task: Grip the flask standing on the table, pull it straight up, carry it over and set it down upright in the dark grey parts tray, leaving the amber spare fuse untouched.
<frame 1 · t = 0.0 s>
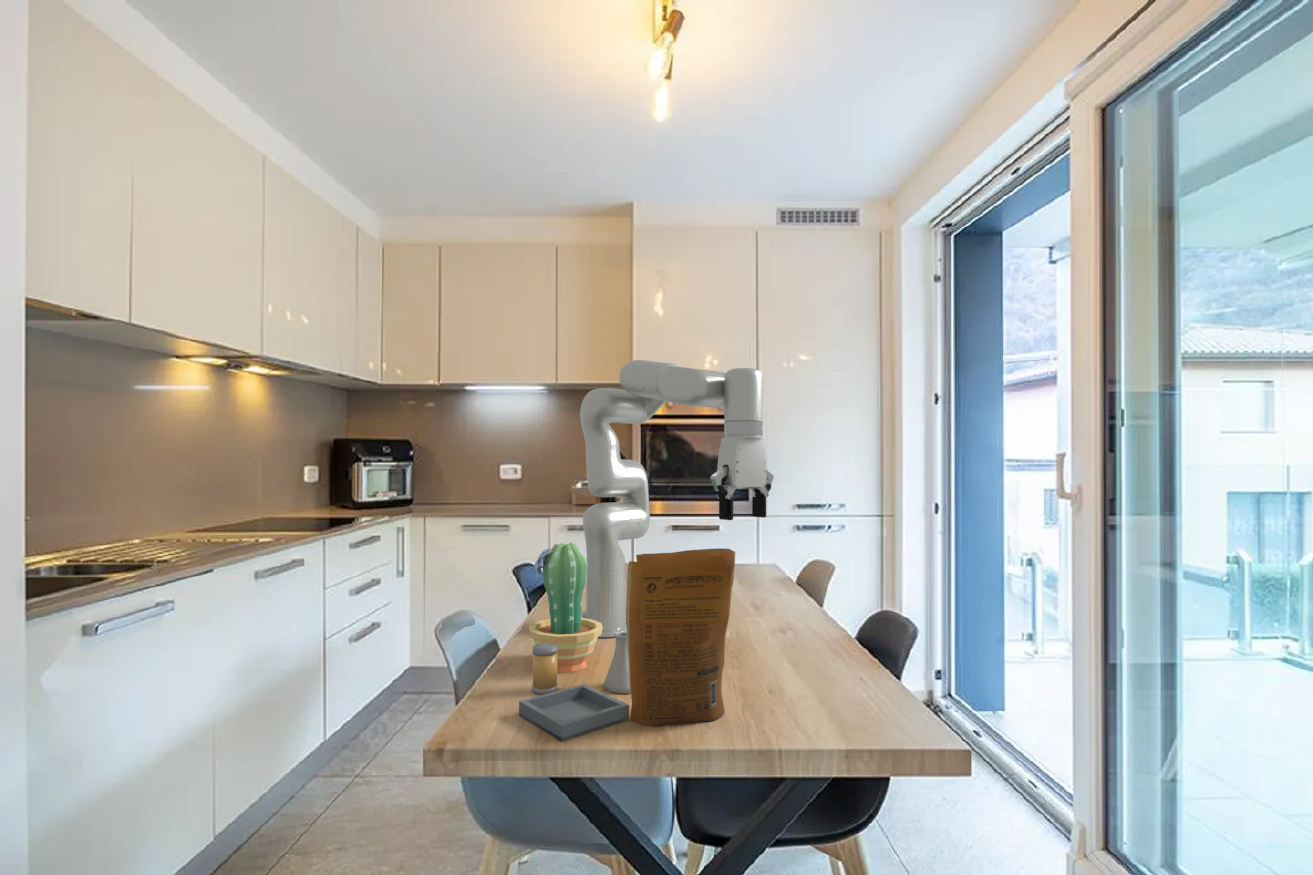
hand: (743, 518, 129), 31 cm above the table, tool pointing down, fingers open, 9 cm apart
spare fuse: (544, 690, 121), on the table
flask: (622, 688, 122), on the table
pancake mix bag: (679, 721, 107), on the table
tray: (573, 717, 108), on the table
potted cactus: (565, 666, 135), on the table
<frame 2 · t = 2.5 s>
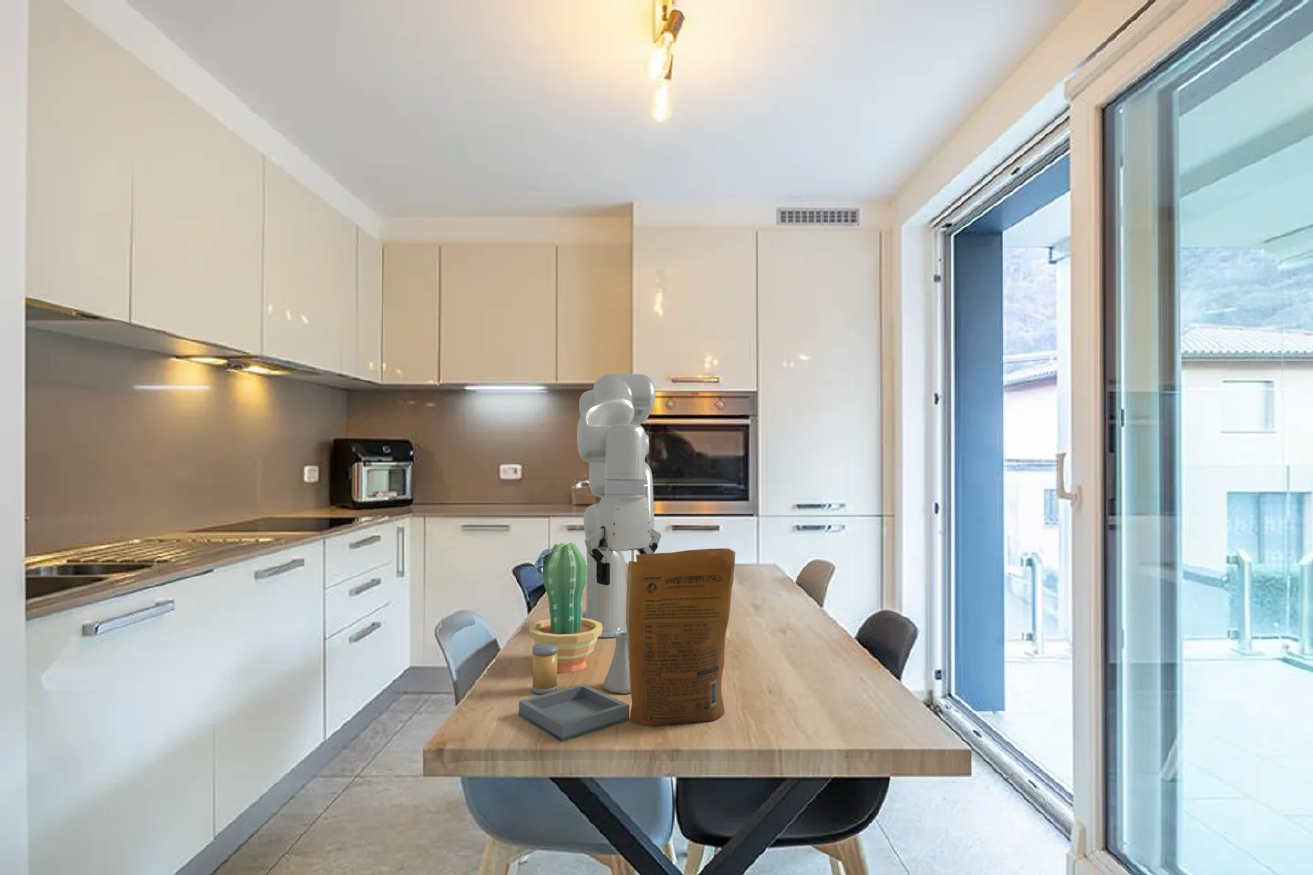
hand: (624, 581, 123), 20 cm above the table, tool pointing down, fingers open, 9 cm apart
nothing on the table moved.
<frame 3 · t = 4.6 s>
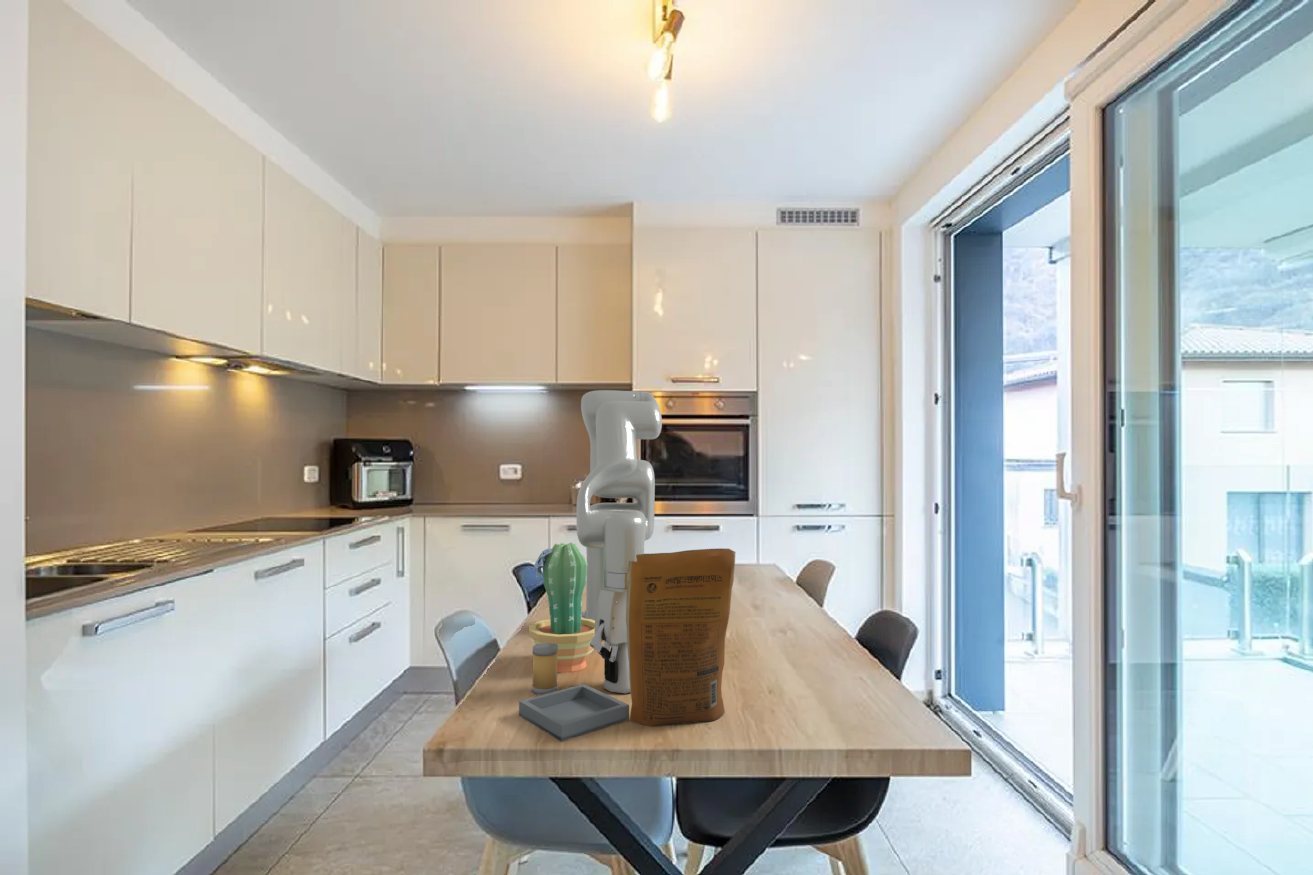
hand: (623, 676, 122), 2 cm above the table, tool pointing down, fingers closed on flask, 4 cm apart
flask: (622, 688, 122), on the table, touching gripper
everything else where it was.
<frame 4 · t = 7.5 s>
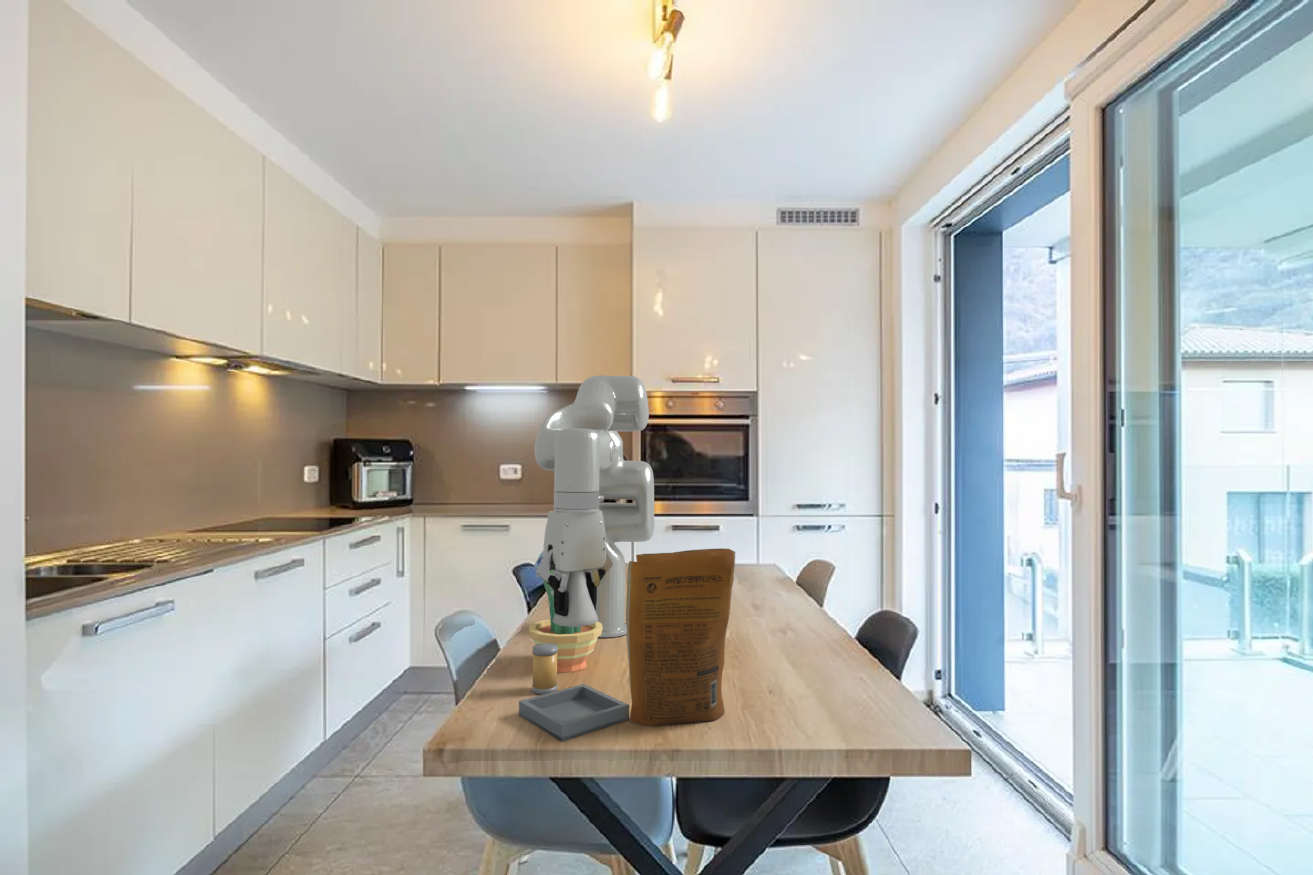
hand: (575, 611, 109), 17 cm above the table, tool pointing down, fingers closed on flask, 4 cm apart
flask: (575, 624, 109), point 15 cm above the table, touching gripper
everything else where it was.
when the fingers open (4 cm above the table, at t = 10.4 s): flask drops 1 cm, resting on tray.
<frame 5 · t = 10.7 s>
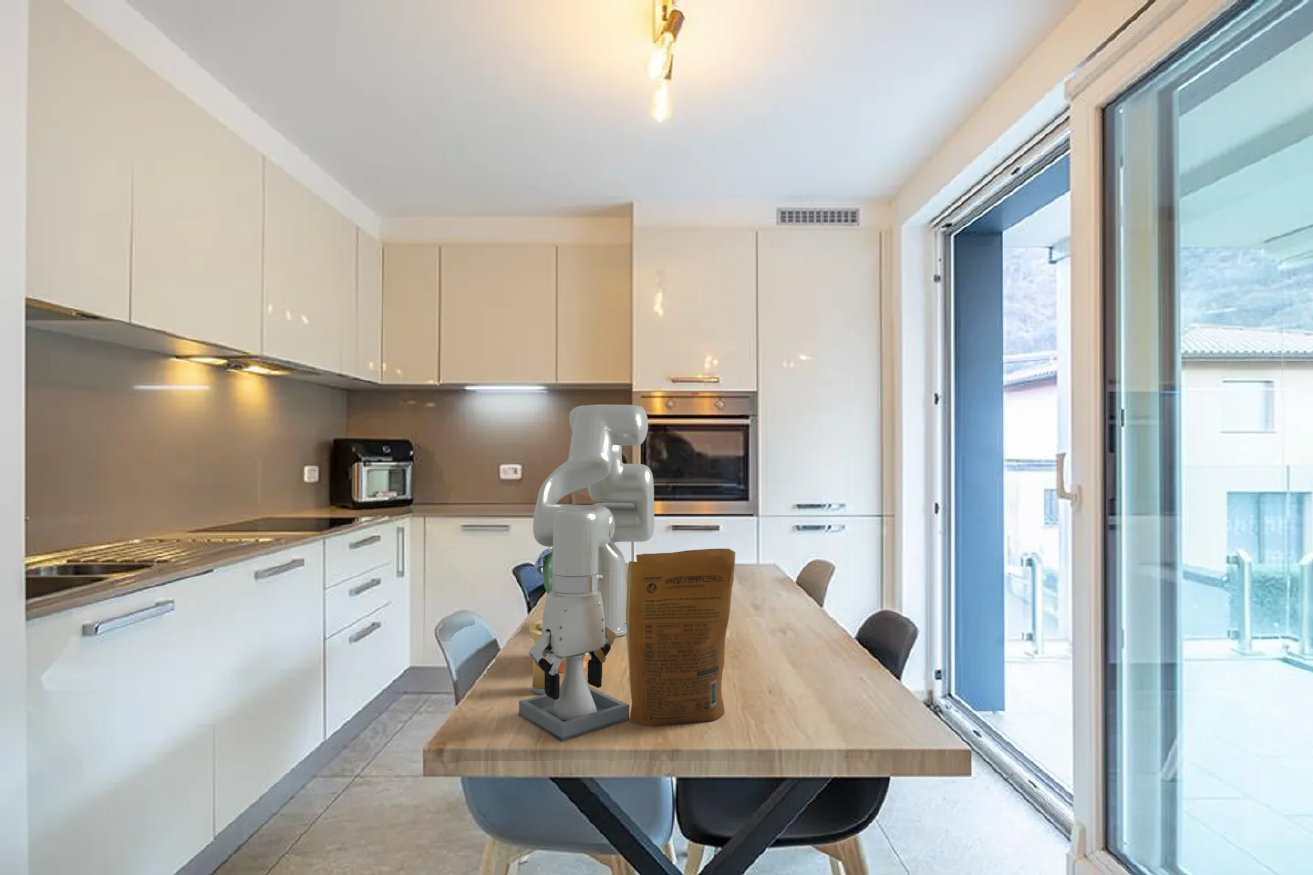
hand: (573, 690, 108), 4 cm above the table, tool pointing down, fingers open, 7 cm apart
flask: (574, 715, 108), resting on tray
everything else where it was.
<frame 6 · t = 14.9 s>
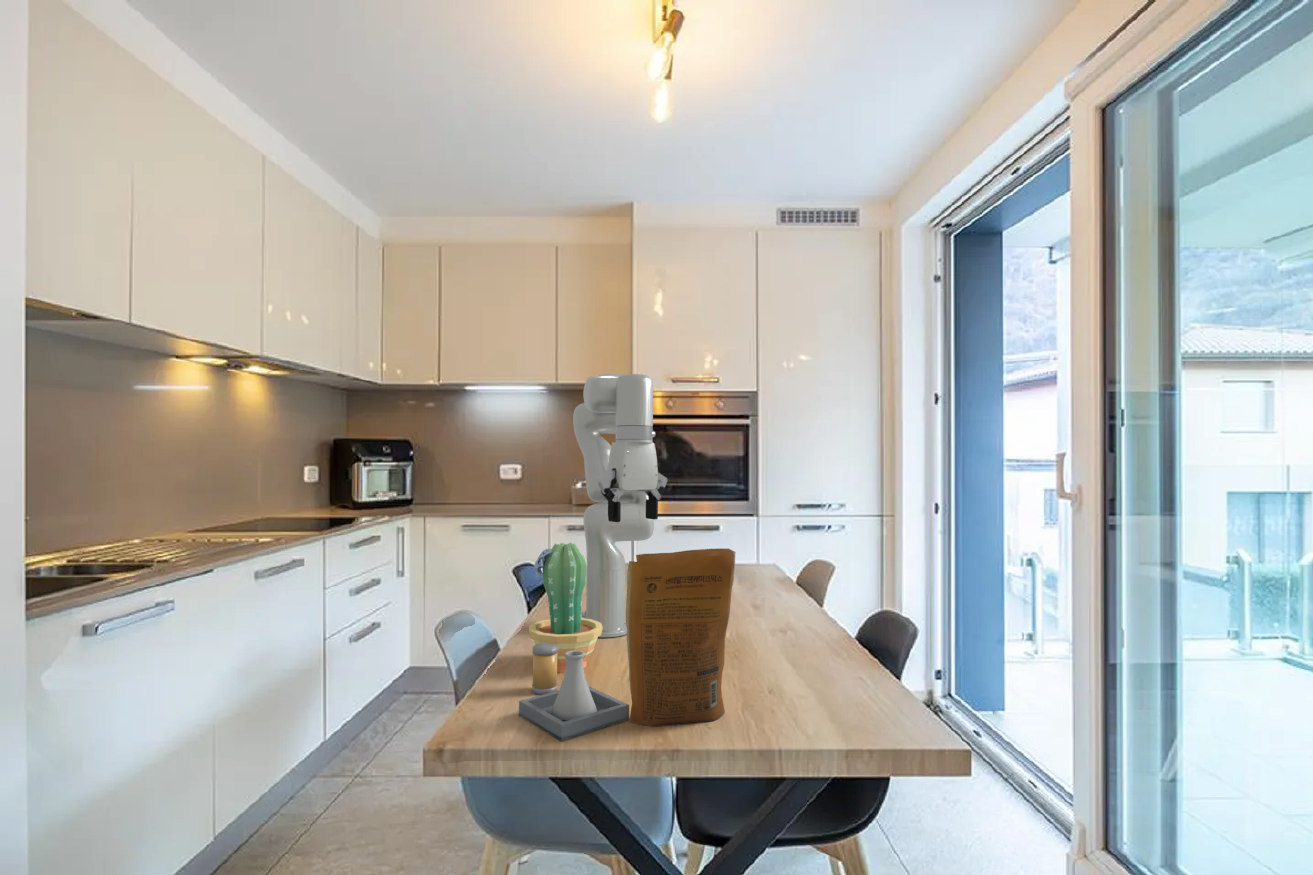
hand: (633, 520, 132), 30 cm above the table, tool pointing down, fingers open, 9 cm apart
nothing on the table moved.
at the end: flask inside the target area on the tray (0.2 cm from its centre), point 0.3 cm above the tray's base; flask tilted 0°; the gripper is holding nothing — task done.
